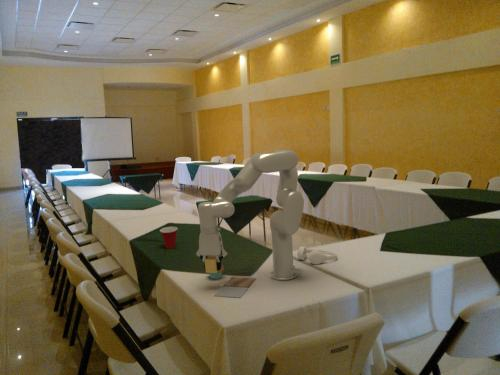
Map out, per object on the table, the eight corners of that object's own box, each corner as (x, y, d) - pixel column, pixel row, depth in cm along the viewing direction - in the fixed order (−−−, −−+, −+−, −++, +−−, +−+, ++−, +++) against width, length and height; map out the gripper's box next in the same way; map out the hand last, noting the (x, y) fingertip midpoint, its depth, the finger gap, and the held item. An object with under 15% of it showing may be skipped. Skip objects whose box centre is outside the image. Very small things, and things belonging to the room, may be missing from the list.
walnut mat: (255, 279, 197) (255, 278, 197) (248, 287, 187) (248, 287, 187) (231, 277, 201) (231, 276, 201) (223, 285, 191) (223, 285, 191)
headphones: (317, 252, 209) (343, 250, 221) (292, 245, 224) (318, 243, 236) (315, 266, 210) (342, 263, 222) (291, 258, 224) (317, 256, 236)
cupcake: (219, 281, 197) (218, 256, 195) (203, 279, 200) (201, 255, 198) (227, 275, 205) (225, 251, 203) (211, 273, 208) (210, 250, 206)
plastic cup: (157, 249, 256) (156, 230, 254) (166, 244, 266) (165, 226, 264) (174, 250, 252) (172, 231, 251) (182, 245, 263) (180, 226, 261)
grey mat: (248, 288, 186) (248, 287, 186) (240, 298, 176) (240, 297, 176) (222, 286, 190) (222, 286, 190) (213, 296, 179) (213, 295, 179)
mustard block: (220, 269, 189) (219, 256, 188) (216, 273, 184) (215, 259, 183) (210, 268, 190) (208, 256, 189) (205, 272, 186) (204, 259, 185)
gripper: (230, 227, 185) (233, 267, 188) (195, 228, 191) (199, 266, 193) (224, 232, 178) (228, 273, 181) (187, 232, 183) (192, 272, 186)
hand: (213, 269), depth 187 cm, fingers closed on mustard block, 5 cm apart
